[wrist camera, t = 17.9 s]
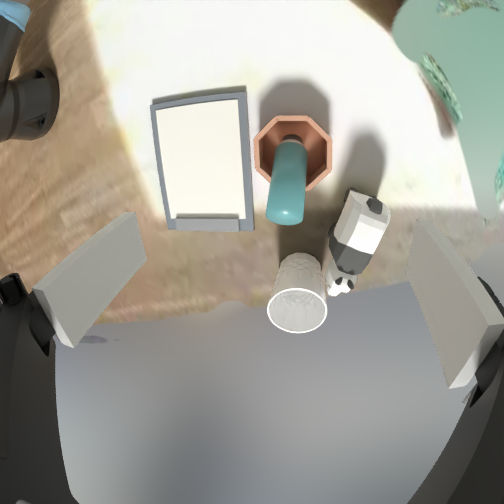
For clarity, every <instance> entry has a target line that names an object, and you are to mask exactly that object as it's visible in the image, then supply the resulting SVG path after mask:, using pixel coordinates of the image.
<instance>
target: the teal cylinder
mask: <svg viewBox="0 0 504 504" xmlns="http://www.w3.org/2000/svg"><path fill="white" fill-rule="evenodd" d="M307 156H308V152H307V150H306V148H305V147H304V145H303V140H302V138H301V137H300V136H298V135H295V134H288V135H285V136H284V137H283V139H282V142H281V143H280V144H279V145H278V146H277V147H276V149H275V155H274V162H273V168H272V175H271V182H270V189H269V195H268V202H267V209H266V217H267V218H268V219H269V220H270V221H272V222H274V223H277V224H281V225H295V224H299V223H300V222H302V220H303V213H304V201H305V188H306V173H307Z"/></svg>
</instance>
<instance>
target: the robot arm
mask: <svg viewBox="0 0 504 504" xmlns="http://www.w3.org/2000/svg"><path fill="white" fill-rule="evenodd" d="M29 16H30V8H29V7H28V6H26V5H24V4H21V3H17V2H13V1H7V0H0V142H3V141H5V140H8V139H18V140H34V139H37V138H40V137H43V136H44V135H45V134H46V133H47V132H48V131H49V130H50V128H51V127H52V125H53V123H54V120H55V118H56V114H57V110H58V104H59V88H58V83H57V79H56V77H55V75H54V73H53V72H52V71H51V70H50V69H48V68H35V69H32V70H29V71H27V72H25V73H23V74H21V75H19V76H18V77H16V78H14V79H12V80H8V79H9V76H10V72H11V69H12V65H13V62H14V59H15V55H16V52H17V49H18V46H19V44H20V41H21V38H22V35H23V34H24V33H25V27H26V24H27V22H28V19H29ZM146 261H147V258H146V254H145V250H144V247H143V243H142V239H141V234H140V230H139V226H138V222H137V217H136V213H135V212H124V213H122V214H121V215H119V216H118V217H117V218H115V219H114V220H113V221H111V222H110V223H109V224H107V225H106V226H105V227H103V228H102V229H101V230H99V231H98V232H97V233H95V234H94V235H93V236H92V237H90V238H89V239H88V240H87V241H85V242H84V243H83V244H82V245H80V246H79V247H78V248H77V249H75V250H74V251H73V252H72V253H71V254H69V255H68V256H67V257H66V258H65V259H63V260H62V261H61V262H60V263H59V264H58V265H57V266H55V267H54V268H53V269H52V270H51V271H50V272H49V273H47V274H46V275H45V276H44V277H43V278H42V279H41V280H40V281H39V282H38V283H37V284H35V285H34V286H33V287H32V289H33V291H32V292H31V293H30V294H29V295H28V293H27V291H26V289H25V287H24V284H23V282H22V280H21V278H20V276H19V274H18V273H12V274H9V275H7V276H5V277H4V278H2V279H1V280H0V299H1V300H2V302H3V304H2V303H1V301H0V504H79V503H78V502H77V501H76V500H75V499H74V497H73V496H72V494H71V492H70V489H69V485H68V481H67V476H66V471H65V467H64V461H63V456H62V450H61V443H60V436H59V428H58V418H57V407H56V388H55V348H56V345H55V341H54V340H53V338H52V337H53V335H54V334H55V333H56V334H57V336H58V337H59V339H60V340H61V342H62V343H63V344H65V345H67V346H70V347H73V348H75V347H76V345H77V344H78V343H79V341H80V340H81V339H82V337H83V336H84V335H85V333H86V332H87V331H88V330H89V328H90V327H91V326H92V325H93V323H94V322H95V321H96V320H97V318H98V317H99V316H100V315H101V313H102V312H103V311H104V310H105V308H106V307H107V306H108V305H109V304H110V302H111V301H112V300H113V299H114V297H115V296H116V295H117V294H118V293H119V292H120V290H121V289H122V288H123V287H124V286H125V284H126V283H127V282H128V281H129V280H130V279H131V278H132V276H133V275H134V274H135V273H136V272H137V271H138V270H139V268H140V267H141V266H142V265H143V264H144V263H145V262H146ZM405 273H406V275H407V277H408V280H409V282H410V284H411V286H412V288H413V291H414V293H415V295H416V298H417V300H418V303H419V305H420V307H421V310H422V312H423V315H424V317H425V320H426V322H427V325H428V328H429V331H430V333H431V336H432V339H433V342H434V345H435V348H436V350H437V353H438V356H439V360H440V363H441V366H442V369H443V372H444V376H445V379H446V382H447V386H448V388H455V387H461V386H466V385H467V384H468V382H469V381H470V380H471V378H472V377H473V376H474V374H475V376H476V379H477V381H478V382H477V384H476V385H475V386H474V388H473V389H472V390H471V391H470V392H469V394H468V395H467V396H466V397H465V399H464V400H463V401H462V402H463V403H465V402H466V401H467V400H468V402H467V404H466V407H465V409H464V411H463V413H462V415H461V417H460V419H459V422H458V423H457V425H456V427H455V430H454V431H453V433H452V435H451V437H450V439H449V441H448V443H447V444H446V446H445V448H444V450H443V451H442V453H441V455H440V457H439V458H438V460H437V462H436V463H435V465H434V466H433V468H432V470H431V471H430V473H429V474H428V476H427V477H426V479H425V480H424V481H423V483H422V484H421V486H420V487H419V489H418V490H417V491H416V493H415V494H414V495H413V497H412V498H411V499H410V501H409V502H408V503H407V504H504V307H503V306H502V304H501V303H499V300H498V298H497V297H496V296H495V295H494V292H493V291H492V289H491V288H490V286H489V285H488V284H487V283H486V282H485V281H483V280H482V279H481V278H480V277H477V276H476V275H475V273H474V272H473V271H472V269H471V268H470V267H469V265H468V264H467V263H466V261H465V260H464V259H463V257H462V256H461V255H460V253H459V252H458V251H457V250H456V248H455V247H454V246H453V245H452V243H451V242H450V241H449V240H448V239H447V237H446V236H445V235H444V234H443V233H442V232H441V230H440V229H439V228H438V227H437V226H436V225H435V223H434V222H433V221H432V220H425V219H417V222H416V227H415V232H414V237H413V242H412V246H411V251H410V255H409V259H408V264H407V268H406V271H405Z"/></svg>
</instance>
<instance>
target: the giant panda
mask: <svg viewBox="0 0 504 504" xmlns="http://www.w3.org/2000/svg"><path fill="white" fill-rule="evenodd" d="M344 202H345V206H344V208H343V211H342V213H341V215H340V218H339V220H338V222H337V224H333V226H332V227H331V229H330V231H329V233H328V237H329V238H330V239H329V248H330V251H331V253H332V256H333V259H332V260H331V262H330V263H329V266H328V269H327V271H326V274H325V282H326V283H327V284H328V287H327V294H328V295H330V296H333V297H335V296H336V295H338V294H339V293H340V292H346V293H348V292H349V291H350V289H354V284H355V282H356V281H357V274H360V273H362V272H363V270H364V269H365V268H366V266H367V265H368V263H369V261H370V259H371V257H372V255H373V253H374V251H375V249H376V248H377V246H378V244H379V242H380V240H381V238H382V236H383V233H384V231H385V229H386V227H387V225H388V223H389V221H390V216H391V213H390V211H389V208H388V207H387V206H386V205H385V204H384V203H382V202H380V201H379V200H378V199H377V198H375V197H374V196H367V195H363V194H360V193H359V192H358V191H357V190H355V189H354V188H349V189H348V191H347V192H346V195H345V198H344Z"/></svg>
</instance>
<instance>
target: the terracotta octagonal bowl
mask: <svg viewBox="0 0 504 504" xmlns="http://www.w3.org/2000/svg"><path fill="white" fill-rule="evenodd" d="M288 134H295V135H298V136H300V137H301V138H302V140H303V145H304V147H305V148H306V150H307V152H308V156H307V173H306V188H305V191H308V189H309V190H311V189H312V188H313V187H314V186H316V185H317V184H318V183H319V182H320V181H321V180H322V179H323V178H324V177H325V176H327V175H328V174H329V173H330V172H331V170H332V139H331V137H330V136H329V135H328V134H327V133H326V132H325V131H324V130H323V129H322V128H321V127H320V126H319V125H318V124H317V123H316V122H315V121H314V120H313V119H312V118H311V117H310V116H308V115H278V116H275V117H274V118H273V119H272V120H271V121H270V122H269V123H268V124H267V125H266V126H265V127H264V128H263V129H262V130H261V131H260V132H259V133H258V134H257V135H256V137H255V138H254V140H253V141H254V158H255V169H256V171H257V172H259V173H260V174H261V175H262V176H263V177H264V178H265V179H266V180H267V181H268V182H269V183H270V182H271V175H272V168H273V162H274V155H275V149H276V147H277V146H278V145H279V144H280V143H281V142H282V139H283V137H284V136H285V135H288Z"/></svg>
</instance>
